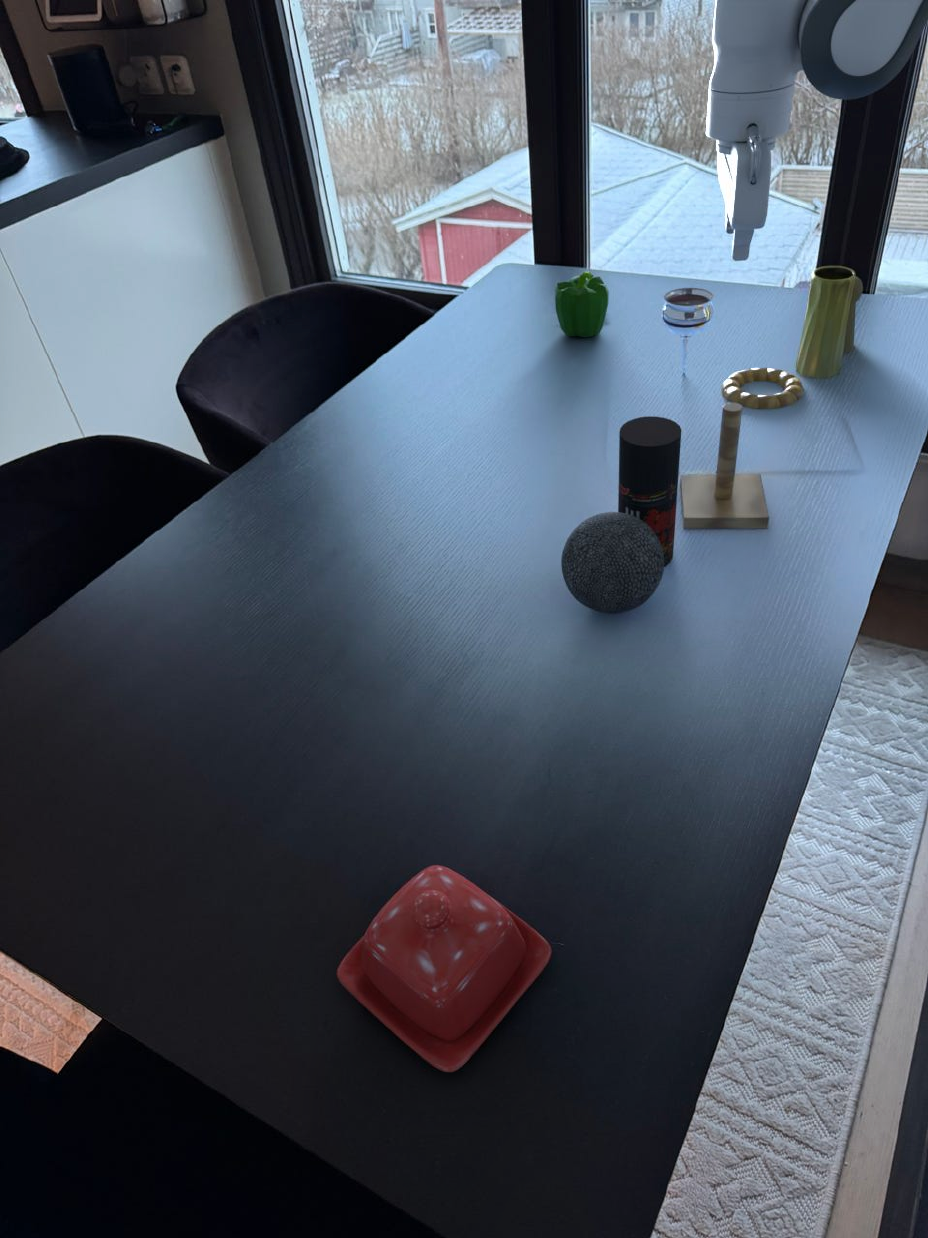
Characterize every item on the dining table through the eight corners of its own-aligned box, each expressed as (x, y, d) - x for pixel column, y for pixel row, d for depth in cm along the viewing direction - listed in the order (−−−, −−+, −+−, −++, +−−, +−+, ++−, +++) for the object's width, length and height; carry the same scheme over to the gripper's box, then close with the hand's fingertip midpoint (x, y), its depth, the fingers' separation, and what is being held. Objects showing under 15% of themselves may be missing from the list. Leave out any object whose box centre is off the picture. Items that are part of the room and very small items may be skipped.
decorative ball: (651, 641, 85) (655, 558, 79) (551, 625, 88) (547, 544, 82) (670, 579, 92) (675, 498, 86) (576, 566, 95) (574, 487, 89)
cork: (806, 361, 126) (818, 284, 119) (810, 344, 130) (822, 268, 123) (851, 364, 124) (866, 286, 117) (854, 346, 128) (869, 269, 121)
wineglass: (717, 380, 124) (725, 295, 117) (682, 396, 122) (688, 310, 114) (683, 365, 129) (688, 283, 121) (648, 380, 126) (651, 297, 119)
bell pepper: (551, 325, 144) (549, 263, 138) (601, 318, 145) (601, 256, 138) (561, 346, 138) (559, 282, 132) (613, 339, 138) (614, 274, 132)
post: (758, 484, 104) (772, 385, 96) (767, 528, 97) (782, 426, 89) (680, 485, 105) (686, 388, 97) (683, 529, 98) (690, 428, 90)
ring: (795, 379, 122) (798, 363, 121) (807, 416, 114) (809, 399, 113) (718, 382, 124) (719, 366, 122) (724, 417, 116) (725, 401, 115)
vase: (807, 363, 126) (823, 261, 116) (848, 373, 122) (868, 269, 113) (784, 379, 123) (799, 275, 113) (825, 390, 119) (844, 284, 110)
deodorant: (611, 567, 95) (612, 443, 85) (624, 535, 99) (627, 413, 89) (667, 575, 93) (675, 449, 83) (678, 543, 97) (686, 419, 87)
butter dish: (451, 1092, 56) (434, 1030, 50) (331, 981, 62) (305, 916, 57) (561, 958, 62) (557, 889, 56) (441, 870, 68) (427, 801, 63)
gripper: (791, 135, 88) (774, 274, 97) (768, 92, 104) (754, 216, 113) (726, 140, 90) (714, 277, 98) (712, 97, 105) (703, 219, 114)
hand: (736, 244), depth 106 cm, fingers open, 8 cm apart
